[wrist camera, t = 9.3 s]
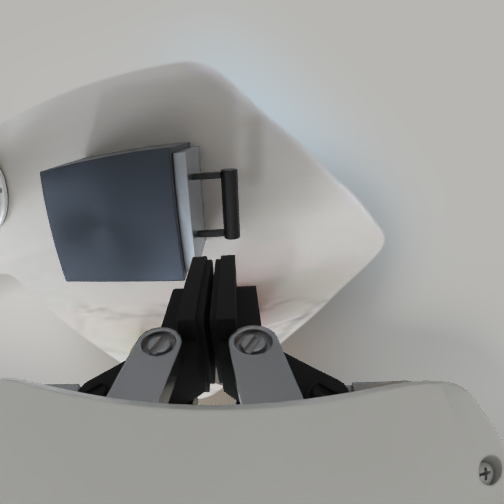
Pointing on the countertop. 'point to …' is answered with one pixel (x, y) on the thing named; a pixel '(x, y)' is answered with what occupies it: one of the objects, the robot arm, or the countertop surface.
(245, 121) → the countertop surface
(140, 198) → the cabinet
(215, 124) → the countertop surface
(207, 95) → the countertop surface
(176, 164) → the drawer
